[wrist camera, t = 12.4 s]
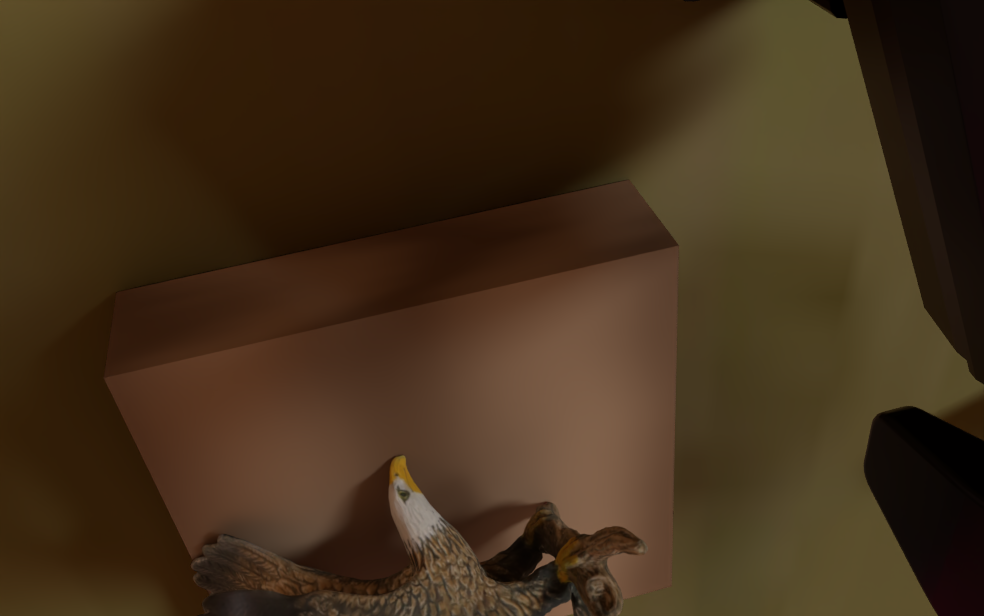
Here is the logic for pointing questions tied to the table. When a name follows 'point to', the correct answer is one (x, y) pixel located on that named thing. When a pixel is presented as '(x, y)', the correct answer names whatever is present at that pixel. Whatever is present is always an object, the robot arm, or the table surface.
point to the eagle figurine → (426, 571)
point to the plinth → (418, 386)
